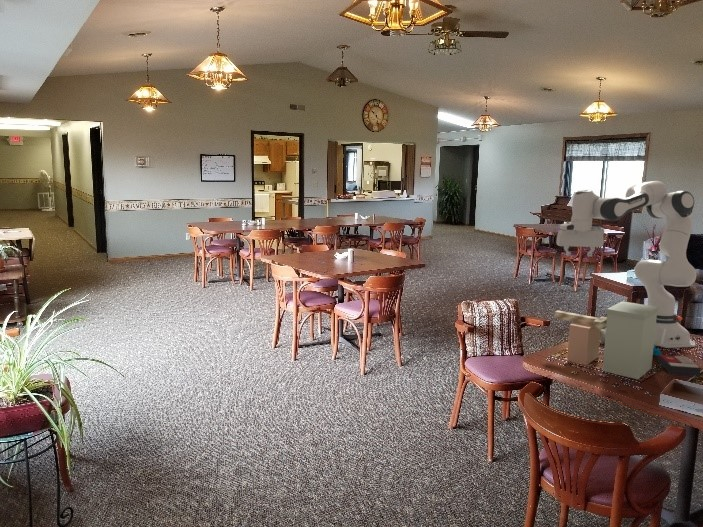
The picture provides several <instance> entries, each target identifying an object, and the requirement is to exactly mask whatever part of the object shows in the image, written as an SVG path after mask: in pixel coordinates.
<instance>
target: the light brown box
mask: <svg viewBox="0 0 703 527" xmlns="http://www.w3.org/2000/svg"><path fill="white" fill-rule="evenodd" d="M600 332H601V329H596V328H593V326H592V325H587V324H582V323H577V322H572V323H570V324H569V329H568V343H567V344H568V345H567V357H566V361H567V362H570V363H571V362H572V363H576V364H580V365H582V366H587V365H589V364H590V363H591V362H593V361H595V360H596V359H598V358H599V355H600V354H599V353H600V352H599V351H600V343H601V341H600Z"/></svg>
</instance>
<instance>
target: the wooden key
mask: <svg viewBox="0 0 703 527" xmlns="http://www.w3.org/2000/svg"><path fill="white" fill-rule="evenodd" d="M553 318H554V319H558V320H562V321H568V322H572V323H574V322H577V323H582V324H587V325H592V326H593V328H596V329H604V328H606V323H607V316H600V317H595V316H591V315H590V316H589V315H586V314H585V315H584V314H579V313H574V312H567V311H564V310H559V309H558V310H556V311H554V316H553Z"/></svg>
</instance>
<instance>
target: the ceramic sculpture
mask: <svg viewBox="0 0 703 527" xmlns="http://www.w3.org/2000/svg"><path fill="white" fill-rule="evenodd" d="M605 335H606V329H604V328H602V329H601V332H600V343H601V344H603V345H605Z"/></svg>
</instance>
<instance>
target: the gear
mask: <svg viewBox="0 0 703 527" xmlns="http://www.w3.org/2000/svg"><path fill="white" fill-rule="evenodd" d="M656 347H657V345H654V348H653V355H654V356H655V357H659V356H660V355H663V354H662V351H660V350H661V349H660V348H659V347H657V348H656Z"/></svg>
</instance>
